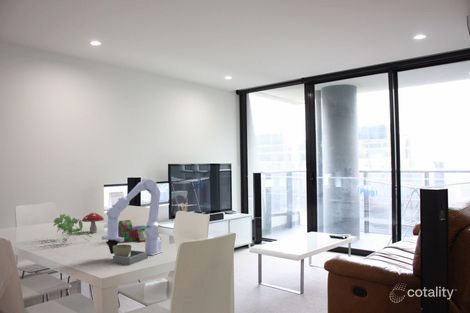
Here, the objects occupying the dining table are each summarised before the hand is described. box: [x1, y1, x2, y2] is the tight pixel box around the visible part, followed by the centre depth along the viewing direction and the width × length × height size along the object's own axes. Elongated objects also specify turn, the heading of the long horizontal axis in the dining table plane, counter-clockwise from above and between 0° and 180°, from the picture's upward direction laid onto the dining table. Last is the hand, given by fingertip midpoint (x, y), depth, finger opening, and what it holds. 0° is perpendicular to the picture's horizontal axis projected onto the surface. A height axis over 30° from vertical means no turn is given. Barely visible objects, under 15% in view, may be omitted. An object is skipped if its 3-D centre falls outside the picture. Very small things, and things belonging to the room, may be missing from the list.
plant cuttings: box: [53, 213, 92, 242], centre depth 252 cm, size 35×17×22 cm
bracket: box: [112, 249, 148, 266], centre depth 202 cm, size 15×11×4 cm
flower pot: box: [113, 243, 132, 257], centre depth 204 cm, size 10×10×7 cm
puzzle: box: [118, 219, 162, 244], centre depth 258 cm, size 25×17×14 cm
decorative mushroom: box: [81, 212, 105, 233], centre depth 286 cm, size 16×16×15 cm
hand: (112, 253), depth 207 cm, fingers closed
